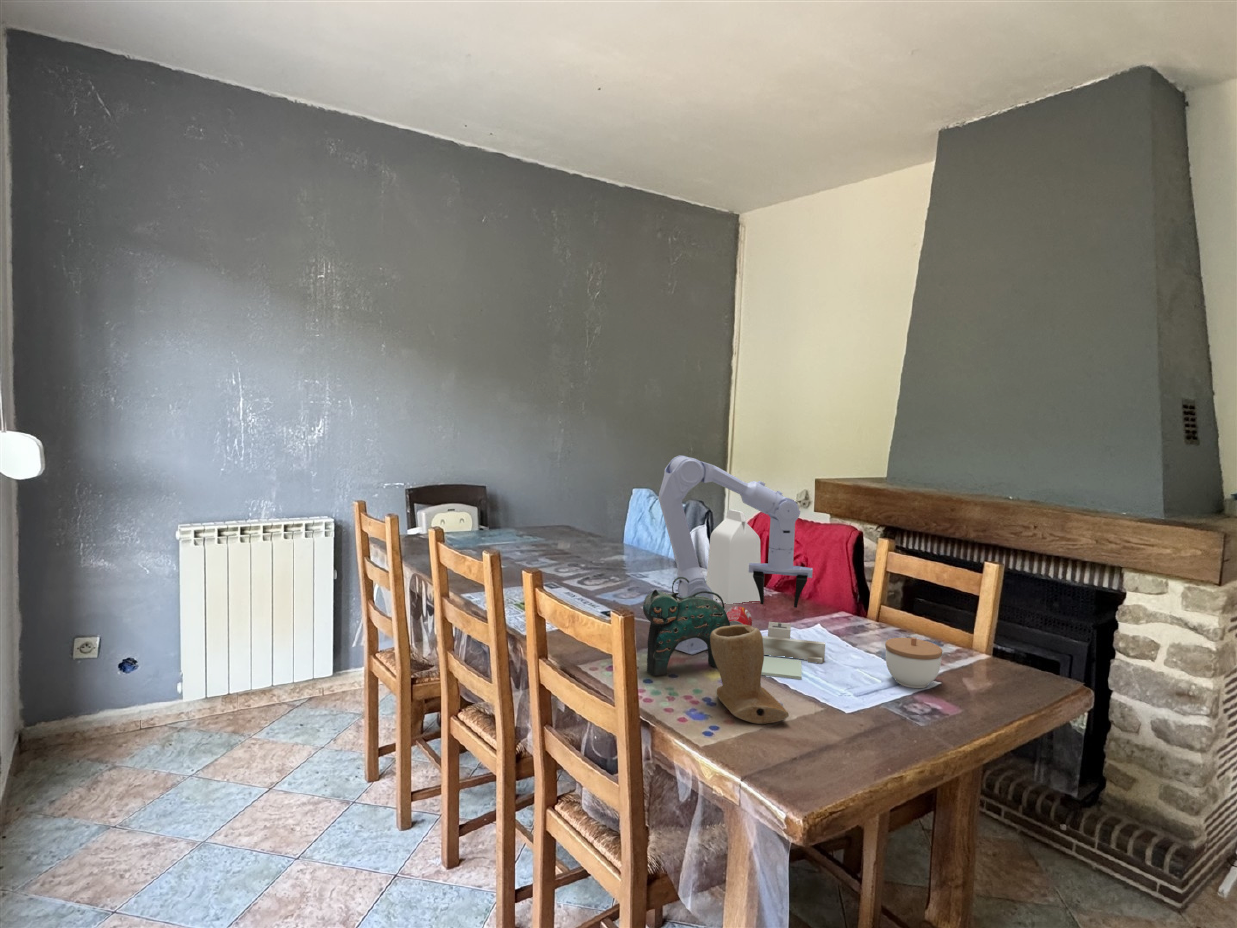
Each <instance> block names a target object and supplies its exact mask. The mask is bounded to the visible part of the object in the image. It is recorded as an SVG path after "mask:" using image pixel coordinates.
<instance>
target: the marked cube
mask: <svg viewBox="0 0 1237 928" xmlns="http://www.w3.org/2000/svg"><path fill="white" fill-rule="evenodd" d="M791 626H792V624H791V623H785V622H777V621H775V622H774V621H768V627H767V628H768V631H767V636H768V637H778V638H788V639H791V633H792V632H791V630H792V629H791V628H792V627H791Z"/></svg>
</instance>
